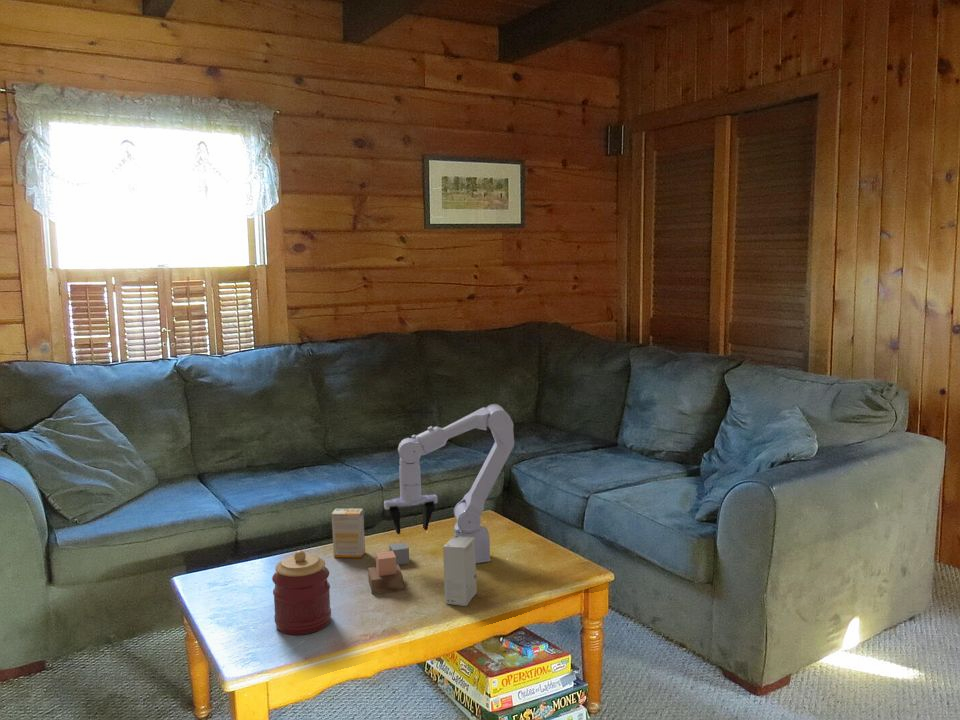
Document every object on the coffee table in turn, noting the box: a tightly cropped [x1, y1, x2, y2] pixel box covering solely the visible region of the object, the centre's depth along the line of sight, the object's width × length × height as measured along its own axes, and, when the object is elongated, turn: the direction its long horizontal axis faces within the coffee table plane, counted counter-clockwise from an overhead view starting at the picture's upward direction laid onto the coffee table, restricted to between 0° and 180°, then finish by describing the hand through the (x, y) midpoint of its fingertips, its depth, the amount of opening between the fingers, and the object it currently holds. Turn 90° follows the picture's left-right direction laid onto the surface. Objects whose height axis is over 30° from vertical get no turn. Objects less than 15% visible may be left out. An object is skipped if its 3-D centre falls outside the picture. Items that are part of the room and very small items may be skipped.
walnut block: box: [367, 565, 404, 595], centre depth 209 cm, size 8×8×4 cm
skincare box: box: [442, 536, 478, 607], centre depth 200 cm, size 8×6×15 cm
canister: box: [271, 549, 332, 636], centre depth 188 cm, size 13×13×18 cm
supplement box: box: [331, 507, 366, 559], centre depth 229 cm, size 8×5×13 cm, turn 84°
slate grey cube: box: [388, 542, 410, 566], centre depth 224 cm, size 4×4×4 cm
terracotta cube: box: [375, 550, 397, 576], centre depth 208 cm, size 4×4×4 cm
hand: (411, 530), depth 221 cm, fingers open, 7 cm apart
